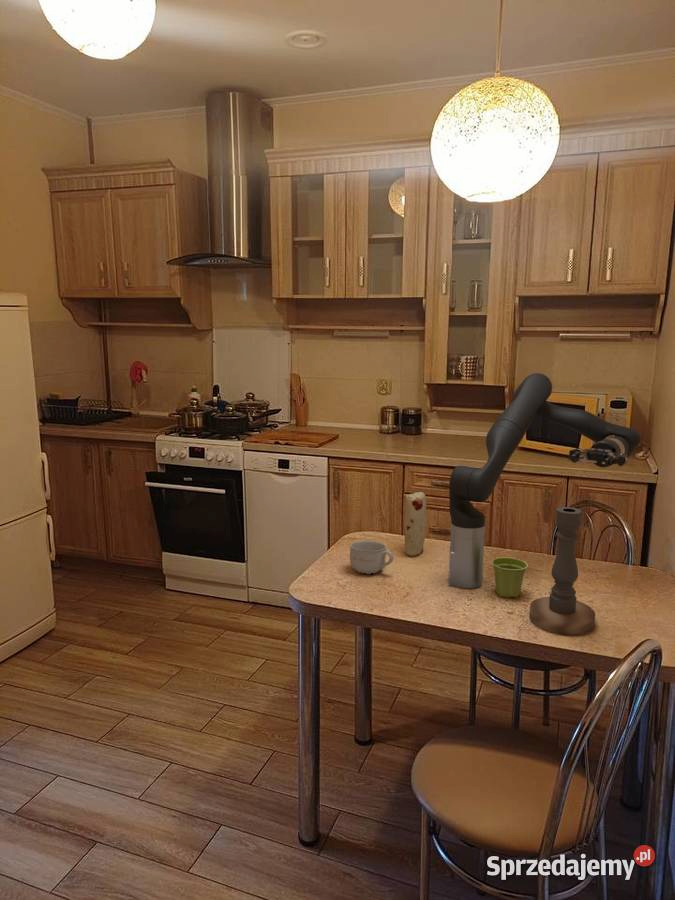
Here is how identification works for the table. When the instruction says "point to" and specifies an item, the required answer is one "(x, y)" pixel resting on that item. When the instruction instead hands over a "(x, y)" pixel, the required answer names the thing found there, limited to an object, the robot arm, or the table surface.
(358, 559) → the teacup
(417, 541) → the food model
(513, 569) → the plant pot
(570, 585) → the candle holder
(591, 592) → the table surface
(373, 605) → the table surface
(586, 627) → the walnut plinth
